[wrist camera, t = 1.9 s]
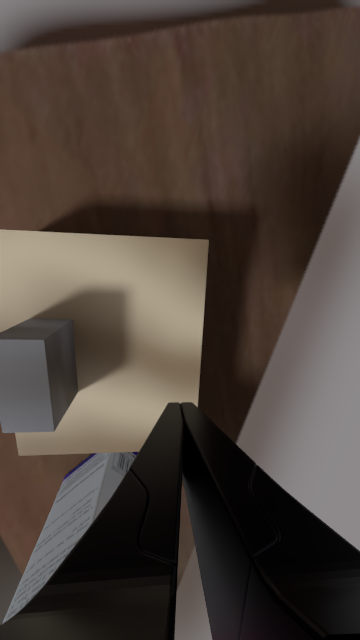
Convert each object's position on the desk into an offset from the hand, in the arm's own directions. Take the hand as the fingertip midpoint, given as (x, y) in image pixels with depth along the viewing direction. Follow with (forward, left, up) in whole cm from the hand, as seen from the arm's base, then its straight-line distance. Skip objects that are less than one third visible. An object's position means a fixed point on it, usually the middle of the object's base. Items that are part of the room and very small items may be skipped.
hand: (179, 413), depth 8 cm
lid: (0, +3, -5) cm, 6 cm away
